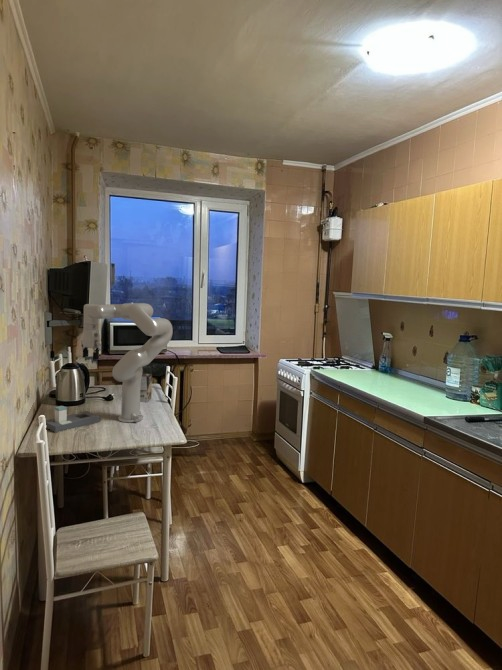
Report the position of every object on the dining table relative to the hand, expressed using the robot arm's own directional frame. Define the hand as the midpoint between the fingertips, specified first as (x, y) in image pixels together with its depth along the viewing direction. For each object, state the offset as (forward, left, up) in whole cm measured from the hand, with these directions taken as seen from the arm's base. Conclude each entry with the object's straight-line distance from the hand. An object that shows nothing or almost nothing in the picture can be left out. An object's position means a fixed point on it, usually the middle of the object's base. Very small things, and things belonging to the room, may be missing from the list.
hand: (90, 358), depth 242 cm
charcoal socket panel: (-12, +18, -30) cm, 37 cm away
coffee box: (0, -38, -31) cm, 49 cm away
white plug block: (-12, +24, -30) cm, 40 cm away
